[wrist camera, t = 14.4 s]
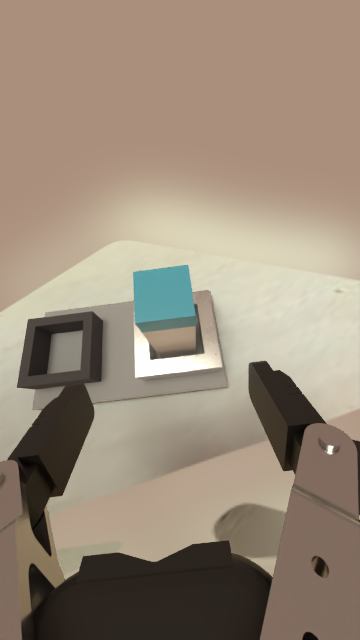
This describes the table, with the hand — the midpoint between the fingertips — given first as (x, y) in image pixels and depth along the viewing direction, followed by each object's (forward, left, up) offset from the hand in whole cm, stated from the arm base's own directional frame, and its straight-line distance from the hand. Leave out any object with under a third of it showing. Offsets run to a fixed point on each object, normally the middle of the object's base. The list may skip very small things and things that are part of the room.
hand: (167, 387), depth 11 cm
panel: (-6, +6, -15) cm, 17 cm away
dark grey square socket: (-13, +6, -15) cm, 21 cm away
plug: (0, +6, -14) cm, 15 cm away
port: (0, +6, -15) cm, 16 cm away
